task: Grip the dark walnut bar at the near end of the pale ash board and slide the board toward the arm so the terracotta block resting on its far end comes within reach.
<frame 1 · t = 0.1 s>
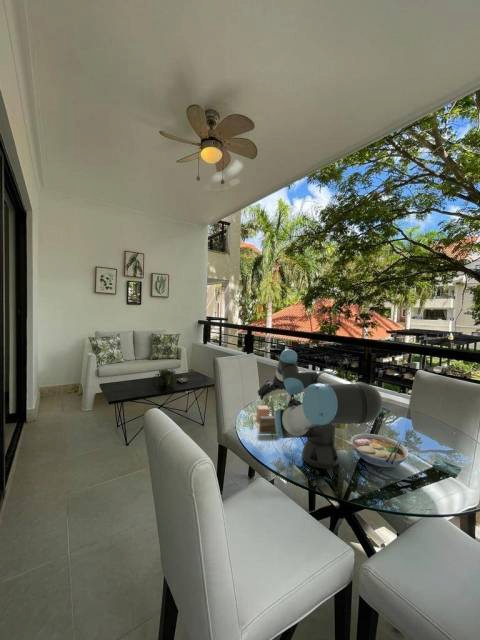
hand: (274, 401, 153), 15 cm above the table, fingers open, 13 cm apart
fruit: (298, 412, 180), on the table
block: (262, 417, 169), point 1 cm above the table, touching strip
ramen bowl: (377, 462, 127), on the table
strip: (265, 416, 163), point 4 cm above the table, slide at 0.0 cm, touching block
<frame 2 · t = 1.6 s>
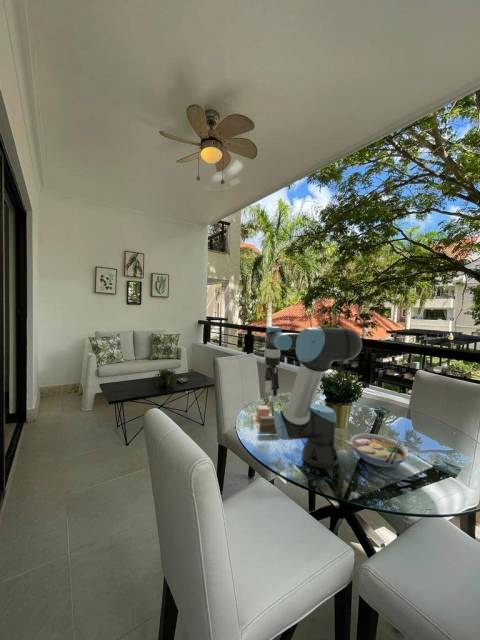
hand: (270, 396, 151), 18 cm above the table, fingers open, 13 cm apart
nothing on the table moved.
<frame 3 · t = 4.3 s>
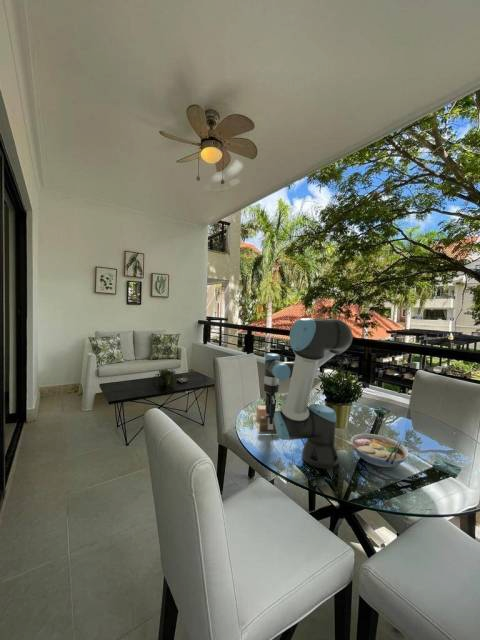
hand: (269, 427, 152), 2 cm above the table, fingers closed on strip, 3 cm apart
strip: (265, 416, 163), point 4 cm above the table, slide at 0.0 cm, touching block, gripper
everything else where it was.
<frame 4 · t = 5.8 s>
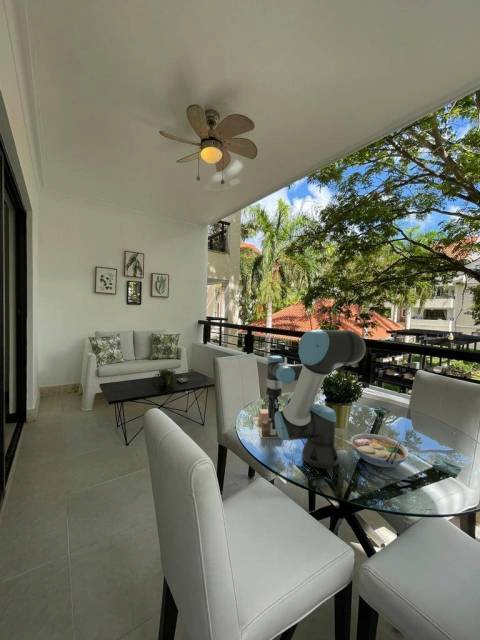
hand: (272, 432, 146), 2 cm above the table, fingers closed on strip, 3 cm apart
block: (264, 421, 163), point 1 cm above the table, touching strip
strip: (267, 420, 157), point 4 cm above the table, slide at 5.9 cm, touching block, gripper
everything else where it was.
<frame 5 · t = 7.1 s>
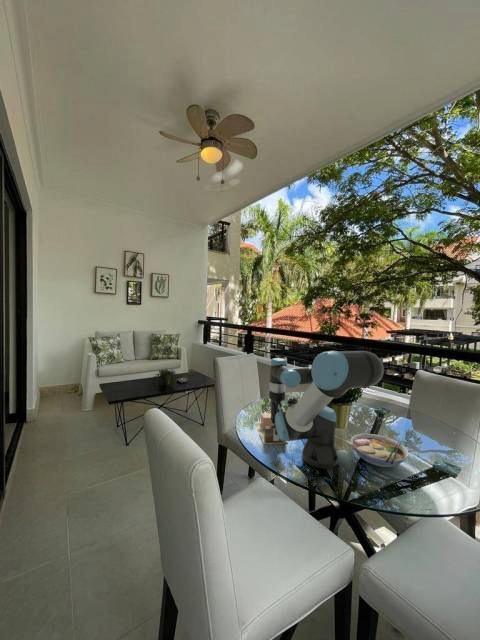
hand: (275, 438, 141), 2 cm above the table, fingers closed on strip, 3 cm apart
block: (267, 426, 157), point 1 cm above the table, touching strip
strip: (270, 425, 151), point 4 cm above the table, slide at 11.8 cm, touching block, gripper
everything else where it was.
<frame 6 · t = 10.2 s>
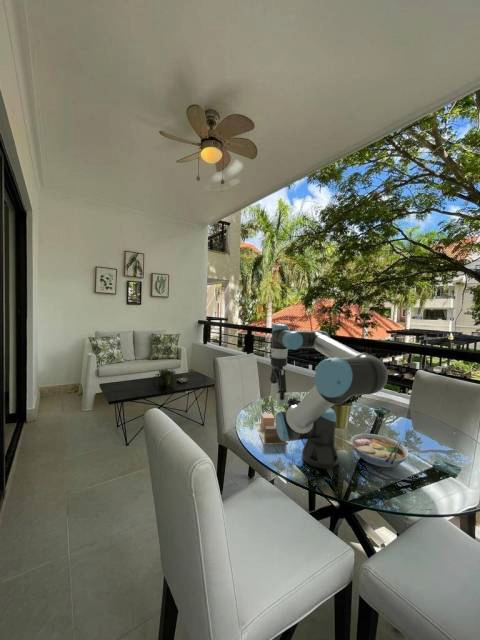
hand: (277, 401, 139), 21 cm above the table, fingers open, 13 cm apart
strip: (270, 425, 151), point 4 cm above the table, slide at 12.0 cm, touching block
everything else where it was.
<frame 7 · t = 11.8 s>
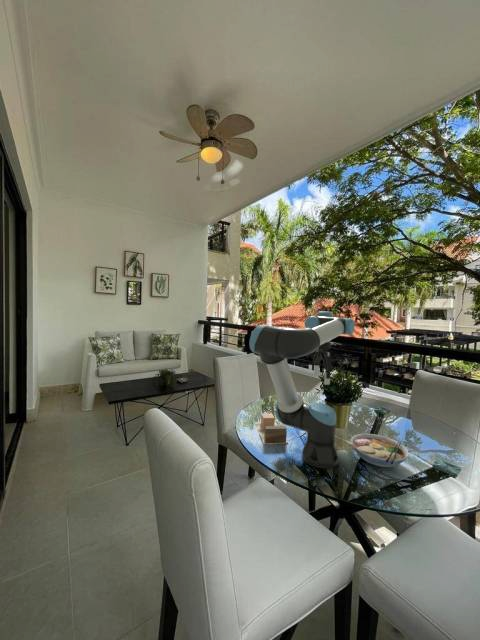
hand: (321, 380, 154), 27 cm above the table, fingers open, 13 cm apart
nothing on the table moved.
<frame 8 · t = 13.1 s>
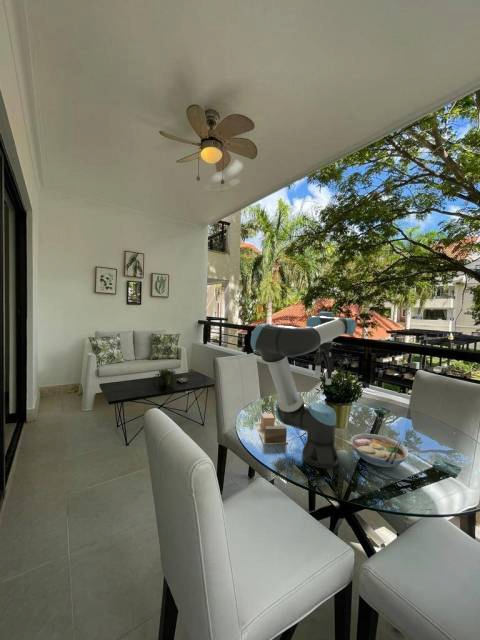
hand: (322, 380, 155), 27 cm above the table, fingers open, 13 cm apart
nothing on the table moved.
at the end: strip slide at 12.0 cm; block inside the target area (0.0 cm from its centre), point 0.6 cm above the table; block tilted 0° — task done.
